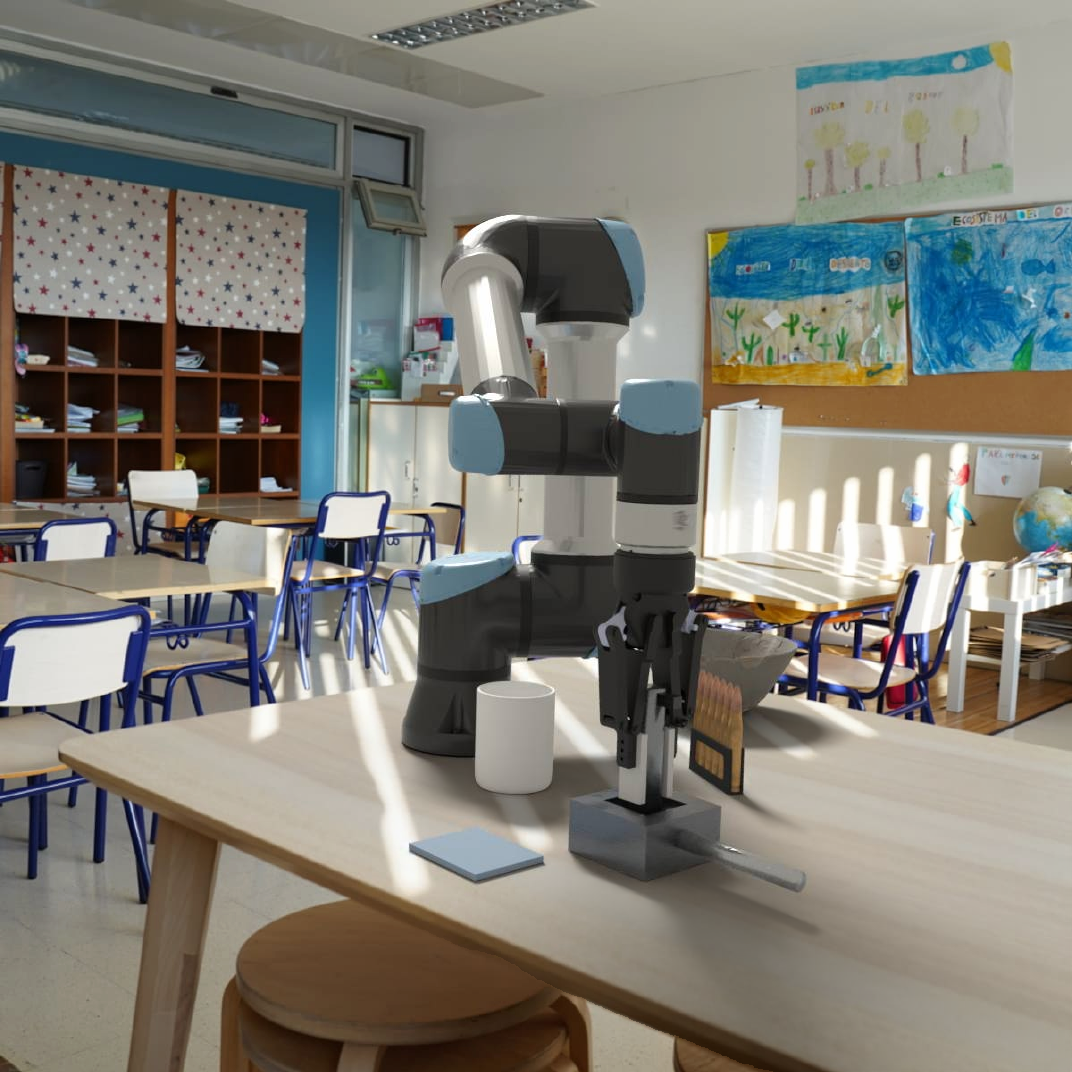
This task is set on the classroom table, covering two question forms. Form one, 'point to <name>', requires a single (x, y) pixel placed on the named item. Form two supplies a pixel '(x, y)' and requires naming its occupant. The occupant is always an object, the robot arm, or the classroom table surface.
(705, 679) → the ammunition clip
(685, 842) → the block
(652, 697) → the key
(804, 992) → the classroom table surface
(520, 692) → the mug
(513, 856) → the mat
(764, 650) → the ceramic bowl
